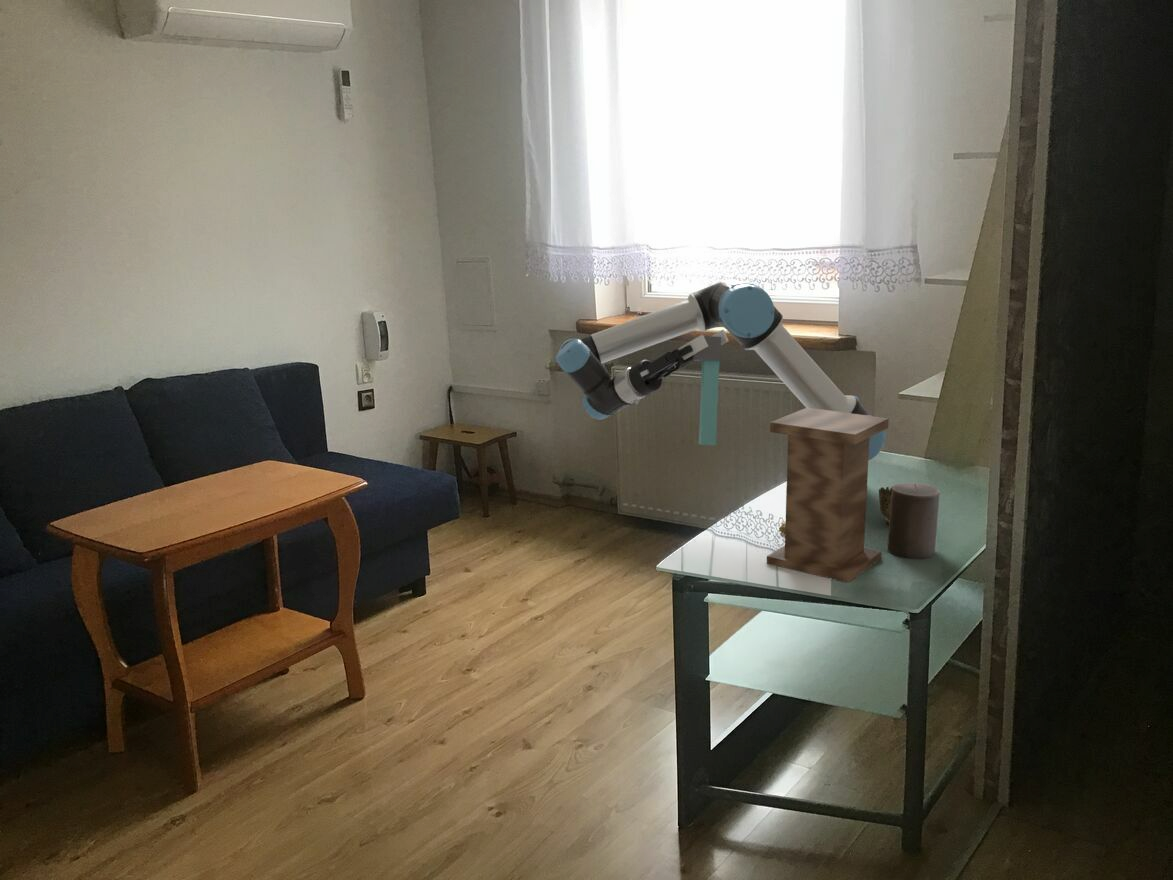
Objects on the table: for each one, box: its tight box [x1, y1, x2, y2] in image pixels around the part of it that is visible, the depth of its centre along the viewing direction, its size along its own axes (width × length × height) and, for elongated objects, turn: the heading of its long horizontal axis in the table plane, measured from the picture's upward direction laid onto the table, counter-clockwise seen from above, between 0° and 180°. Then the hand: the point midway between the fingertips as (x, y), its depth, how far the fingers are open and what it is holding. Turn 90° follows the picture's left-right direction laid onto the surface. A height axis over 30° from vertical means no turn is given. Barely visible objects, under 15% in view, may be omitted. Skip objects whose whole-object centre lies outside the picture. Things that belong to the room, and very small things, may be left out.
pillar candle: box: [887, 482, 941, 559], centre depth 221 cm, size 10×10×15 cm
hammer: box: [693, 335, 722, 446], centre depth 225 cm, size 23×5×5 cm
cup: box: [878, 485, 894, 526], centre depth 238 cm, size 8×7×8 cm
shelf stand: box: [766, 407, 890, 583], centre depth 214 cm, size 18×16×30 cm
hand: (715, 338), depth 223 cm, fingers closed on hammer, 8 cm apart
